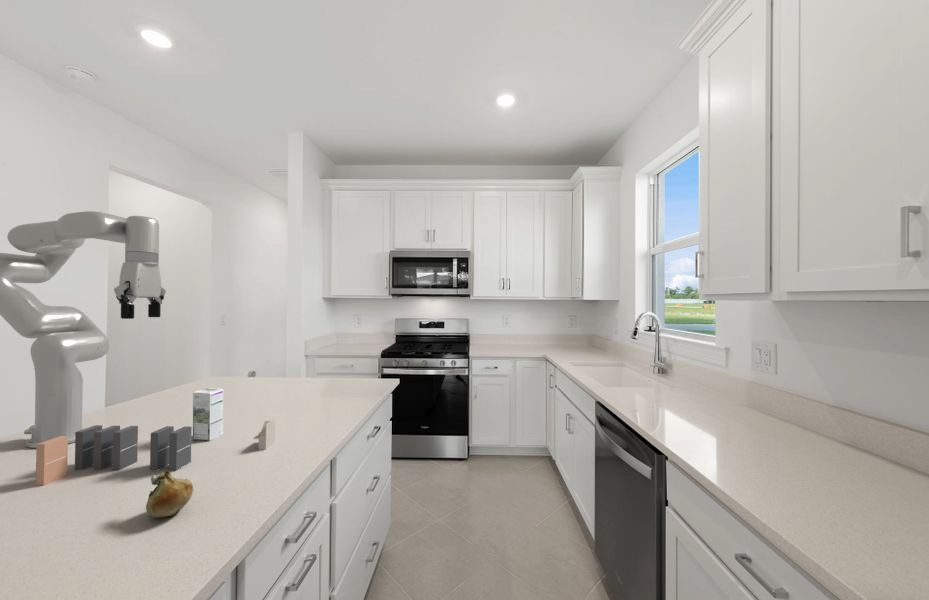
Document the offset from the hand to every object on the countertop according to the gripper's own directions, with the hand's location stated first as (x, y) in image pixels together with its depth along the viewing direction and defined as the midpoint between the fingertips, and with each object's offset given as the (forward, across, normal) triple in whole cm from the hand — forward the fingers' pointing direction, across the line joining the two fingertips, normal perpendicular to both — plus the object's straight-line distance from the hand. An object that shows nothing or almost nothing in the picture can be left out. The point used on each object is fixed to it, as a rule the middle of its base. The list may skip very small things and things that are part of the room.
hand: (141, 317), depth 111 cm
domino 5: (+36, +16, +18) cm, 44 cm away
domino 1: (+36, +23, -1) cm, 43 cm away
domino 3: (+36, +16, +4) cm, 40 cm away
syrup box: (+37, -4, +17) cm, 41 cm away
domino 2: (+36, +16, 0) cm, 40 cm away
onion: (+37, +38, +35) cm, 64 cm away
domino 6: (+36, +16, +23) cm, 46 cm away
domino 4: (+36, +16, +9) cm, 41 cm away
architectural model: (+37, +3, +38) cm, 53 cm away
